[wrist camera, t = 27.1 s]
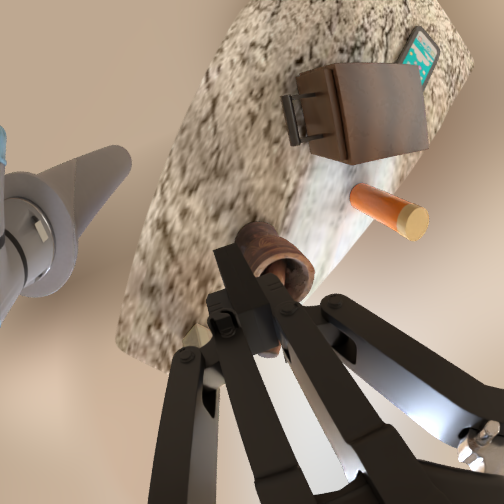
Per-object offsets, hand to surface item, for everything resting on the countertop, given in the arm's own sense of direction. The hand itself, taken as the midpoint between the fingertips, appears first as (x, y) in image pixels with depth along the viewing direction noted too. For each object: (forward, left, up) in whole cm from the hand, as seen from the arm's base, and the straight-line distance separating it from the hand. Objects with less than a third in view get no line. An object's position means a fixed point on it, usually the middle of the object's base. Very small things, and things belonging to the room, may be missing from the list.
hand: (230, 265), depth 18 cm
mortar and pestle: (+11, -10, -27) cm, 30 cm away
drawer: (+18, +15, -26) cm, 35 cm away
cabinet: (+22, +17, -26) cm, 38 cm away
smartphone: (+36, +34, -26) cm, 56 cm away
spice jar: (+29, +2, -26) cm, 39 cm away
